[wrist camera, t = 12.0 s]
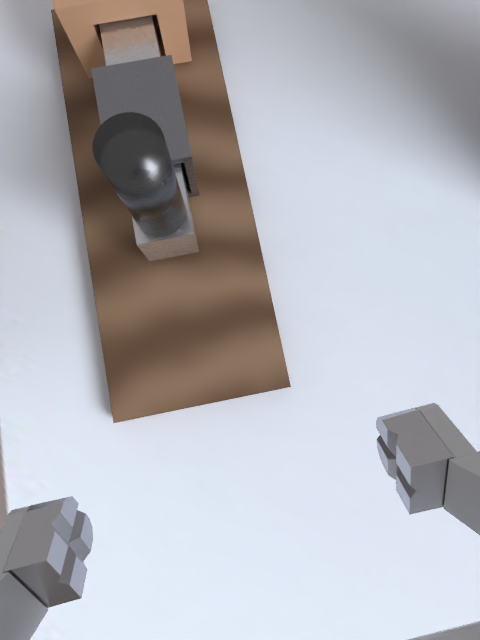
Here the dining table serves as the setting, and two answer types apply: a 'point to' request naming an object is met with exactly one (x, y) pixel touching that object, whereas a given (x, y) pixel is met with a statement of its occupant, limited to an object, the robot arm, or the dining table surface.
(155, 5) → the socket block
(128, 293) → the walnut board
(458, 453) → the robot arm
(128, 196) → the grey piece
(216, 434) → the dining table surface
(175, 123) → the metal sleeve
